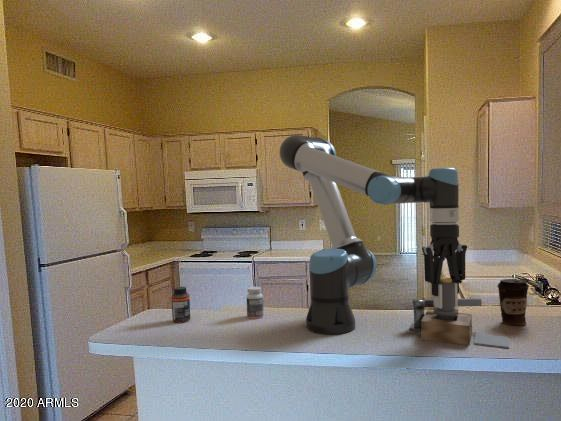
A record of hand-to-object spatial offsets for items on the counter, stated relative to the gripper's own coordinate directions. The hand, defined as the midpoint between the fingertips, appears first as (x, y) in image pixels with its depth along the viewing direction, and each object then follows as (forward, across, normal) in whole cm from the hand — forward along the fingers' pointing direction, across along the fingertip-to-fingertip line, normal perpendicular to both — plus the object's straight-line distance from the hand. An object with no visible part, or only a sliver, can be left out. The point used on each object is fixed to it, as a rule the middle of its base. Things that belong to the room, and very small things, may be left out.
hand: (445, 306), depth 113 cm
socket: (+8, 0, 0) cm, 8 cm away
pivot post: (+8, -3, +8) cm, 12 cm away
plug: (+7, 0, 0) cm, 7 cm away
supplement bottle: (+9, -70, +45) cm, 84 cm away
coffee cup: (+8, +26, +1) cm, 27 cm away
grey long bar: (+2, +4, +5) cm, 7 cm away
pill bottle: (+9, -46, +40) cm, 61 cm away
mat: (+8, +7, -9) cm, 14 cm away
